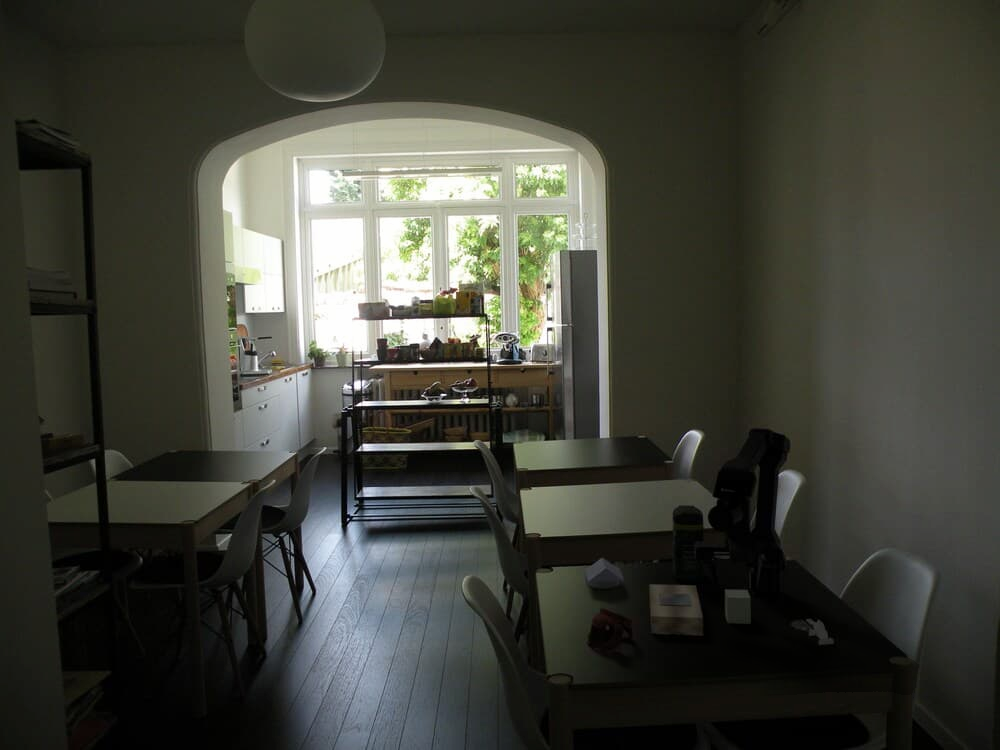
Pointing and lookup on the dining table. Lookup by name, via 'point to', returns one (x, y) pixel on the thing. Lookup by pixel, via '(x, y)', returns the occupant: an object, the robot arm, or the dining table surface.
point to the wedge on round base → (603, 575)
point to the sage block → (738, 606)
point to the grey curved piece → (814, 630)
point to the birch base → (675, 610)
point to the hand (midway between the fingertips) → (737, 587)
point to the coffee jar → (687, 543)
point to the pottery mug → (613, 634)
